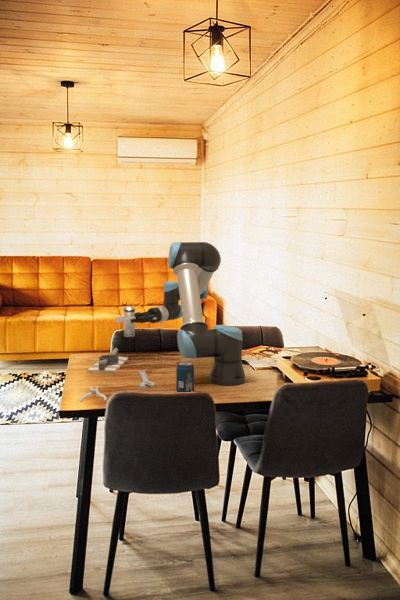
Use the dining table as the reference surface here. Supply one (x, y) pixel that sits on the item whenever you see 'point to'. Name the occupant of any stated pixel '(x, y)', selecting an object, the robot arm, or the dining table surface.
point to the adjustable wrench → (145, 381)
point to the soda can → (185, 377)
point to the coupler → (129, 328)
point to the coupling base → (108, 363)
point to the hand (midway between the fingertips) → (120, 320)
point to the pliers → (92, 393)
